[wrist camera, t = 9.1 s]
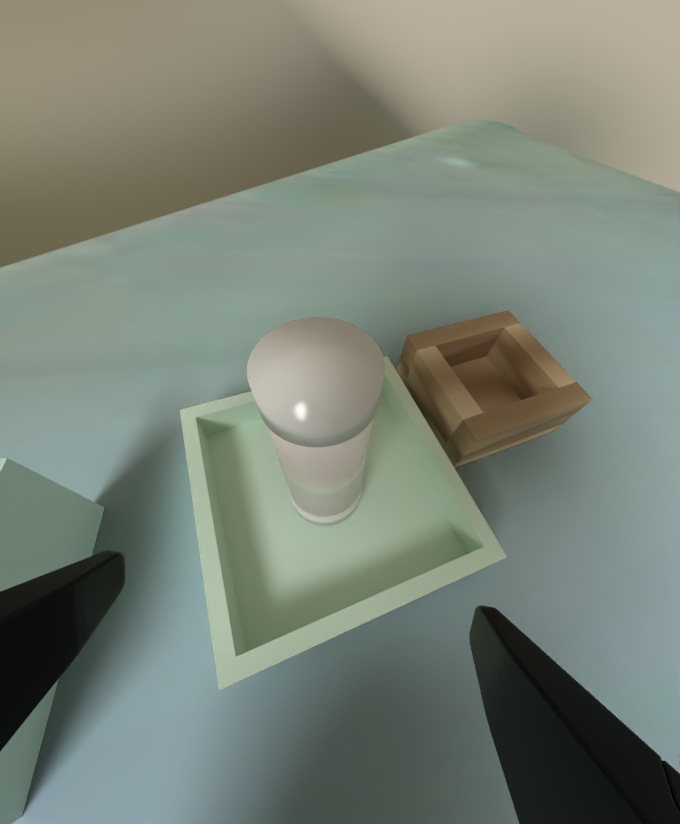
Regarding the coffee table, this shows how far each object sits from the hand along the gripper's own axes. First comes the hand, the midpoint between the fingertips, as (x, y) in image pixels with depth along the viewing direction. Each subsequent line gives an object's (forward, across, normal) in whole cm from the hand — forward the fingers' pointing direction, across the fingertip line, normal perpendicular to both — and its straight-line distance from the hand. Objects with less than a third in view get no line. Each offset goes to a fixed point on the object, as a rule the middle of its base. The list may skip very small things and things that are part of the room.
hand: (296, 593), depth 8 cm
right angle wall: (+5, +17, +10) cm, 21 cm away
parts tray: (+11, 0, +3) cm, 12 cm away
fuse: (+11, 0, +2) cm, 11 cm away
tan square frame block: (+17, -10, -3) cm, 20 cm away
